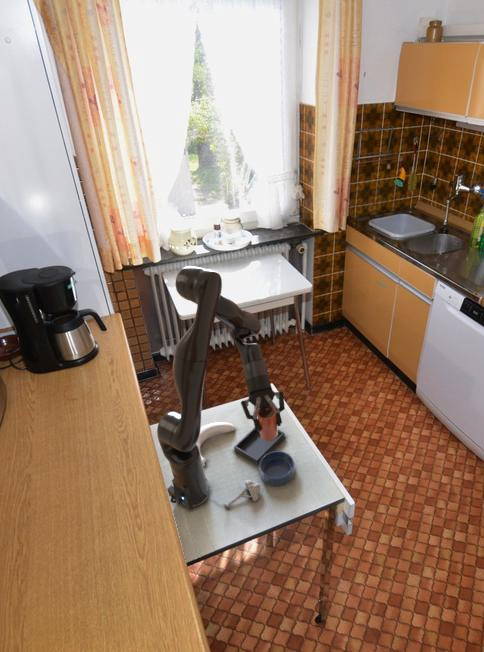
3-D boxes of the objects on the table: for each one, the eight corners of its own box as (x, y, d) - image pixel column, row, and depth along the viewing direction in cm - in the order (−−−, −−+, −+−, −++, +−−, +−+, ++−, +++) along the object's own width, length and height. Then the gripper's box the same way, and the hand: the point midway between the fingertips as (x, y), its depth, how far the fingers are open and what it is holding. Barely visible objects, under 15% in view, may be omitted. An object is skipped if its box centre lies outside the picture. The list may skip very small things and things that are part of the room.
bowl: (280, 493, 138) (279, 485, 136) (253, 476, 144) (252, 468, 142) (301, 469, 145) (300, 461, 143) (274, 453, 151) (273, 445, 149)
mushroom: (220, 493, 135) (253, 473, 138) (222, 499, 138) (255, 478, 142) (230, 513, 131) (265, 491, 134) (232, 518, 134) (266, 497, 138)
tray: (257, 465, 148) (257, 460, 146) (234, 451, 154) (233, 446, 152) (284, 437, 157) (284, 432, 156) (262, 425, 163) (261, 420, 162)
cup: (270, 443, 137) (267, 421, 132) (256, 435, 140) (253, 413, 135) (281, 432, 141) (279, 410, 136) (267, 424, 144) (265, 403, 139)
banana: (229, 421, 166) (247, 446, 155) (183, 444, 159) (197, 472, 148) (227, 412, 163) (245, 437, 152) (179, 435, 157) (194, 462, 146)
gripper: (235, 380, 135) (248, 434, 132) (279, 369, 138) (293, 422, 135) (233, 382, 142) (246, 434, 139) (276, 372, 145) (289, 423, 142)
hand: (269, 428), depth 137 cm, fingers closed on cup, 6 cm apart
